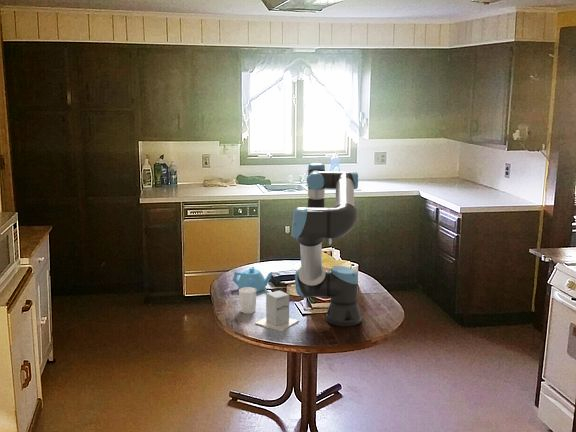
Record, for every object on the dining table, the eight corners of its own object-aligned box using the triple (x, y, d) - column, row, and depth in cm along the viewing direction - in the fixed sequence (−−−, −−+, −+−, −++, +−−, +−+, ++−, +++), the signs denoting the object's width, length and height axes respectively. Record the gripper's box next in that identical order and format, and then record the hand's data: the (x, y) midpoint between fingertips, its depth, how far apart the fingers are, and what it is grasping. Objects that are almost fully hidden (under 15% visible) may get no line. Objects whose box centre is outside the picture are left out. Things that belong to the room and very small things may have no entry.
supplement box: (275, 326, 261) (275, 298, 258) (265, 320, 267) (265, 293, 264) (289, 322, 265) (289, 294, 263) (279, 317, 271) (279, 289, 269)
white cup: (254, 314, 276) (253, 293, 273) (237, 313, 277) (236, 292, 275) (258, 308, 283) (258, 287, 281) (241, 307, 285) (241, 286, 282)
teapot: (254, 281, 320) (253, 261, 317) (273, 289, 309) (273, 268, 307) (230, 288, 309) (230, 268, 307) (250, 296, 299) (249, 275, 296)
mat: (298, 321, 268) (299, 320, 268) (281, 331, 257) (281, 330, 257) (272, 314, 275) (272, 313, 275) (255, 324, 265) (254, 322, 265)
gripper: (344, 197, 281) (343, 242, 286) (291, 194, 287) (291, 239, 292) (342, 200, 274) (341, 246, 279) (287, 197, 280) (287, 243, 284)
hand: (315, 242), depth 285 cm, fingers open, 13 cm apart
